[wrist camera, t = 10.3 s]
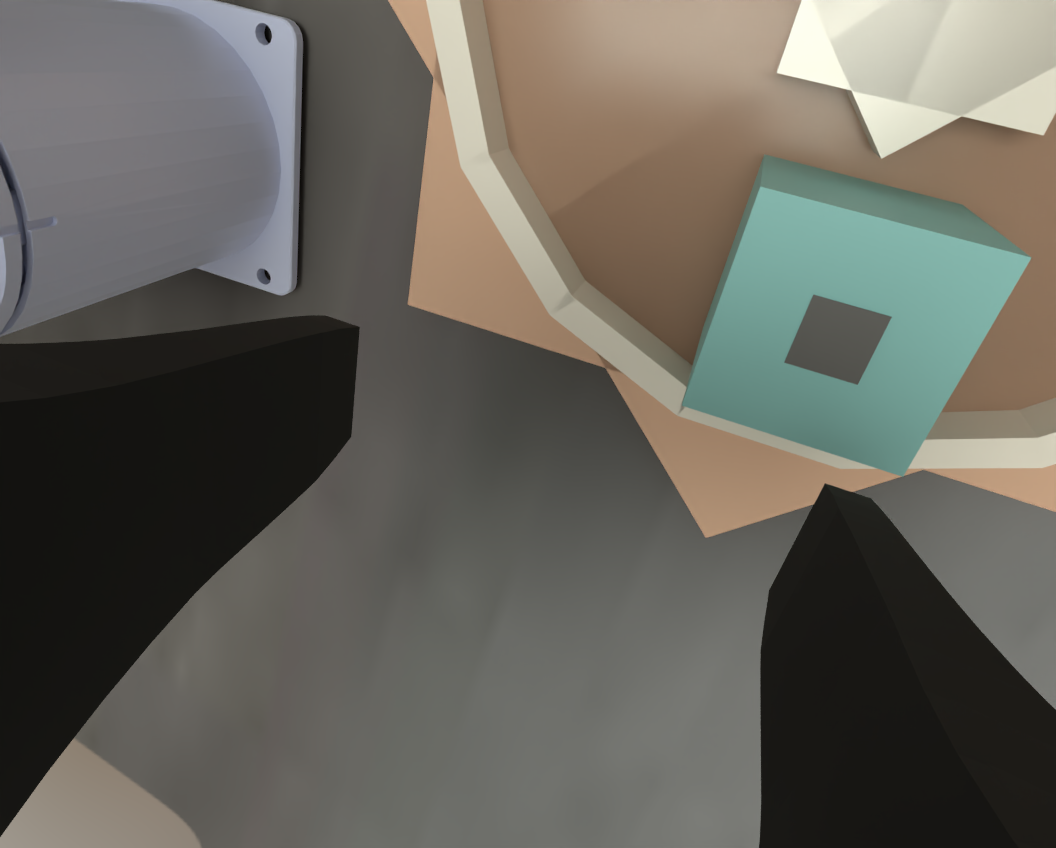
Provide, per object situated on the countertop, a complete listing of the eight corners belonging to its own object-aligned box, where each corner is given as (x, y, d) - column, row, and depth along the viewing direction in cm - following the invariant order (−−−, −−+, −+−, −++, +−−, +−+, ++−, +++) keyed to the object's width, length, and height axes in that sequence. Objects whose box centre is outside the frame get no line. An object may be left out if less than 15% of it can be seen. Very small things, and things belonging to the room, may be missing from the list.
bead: (702, 327, 19) (681, 406, 14) (764, 154, 16) (760, 186, 12) (872, 379, 18) (903, 477, 14) (962, 204, 16) (1032, 258, 11)
